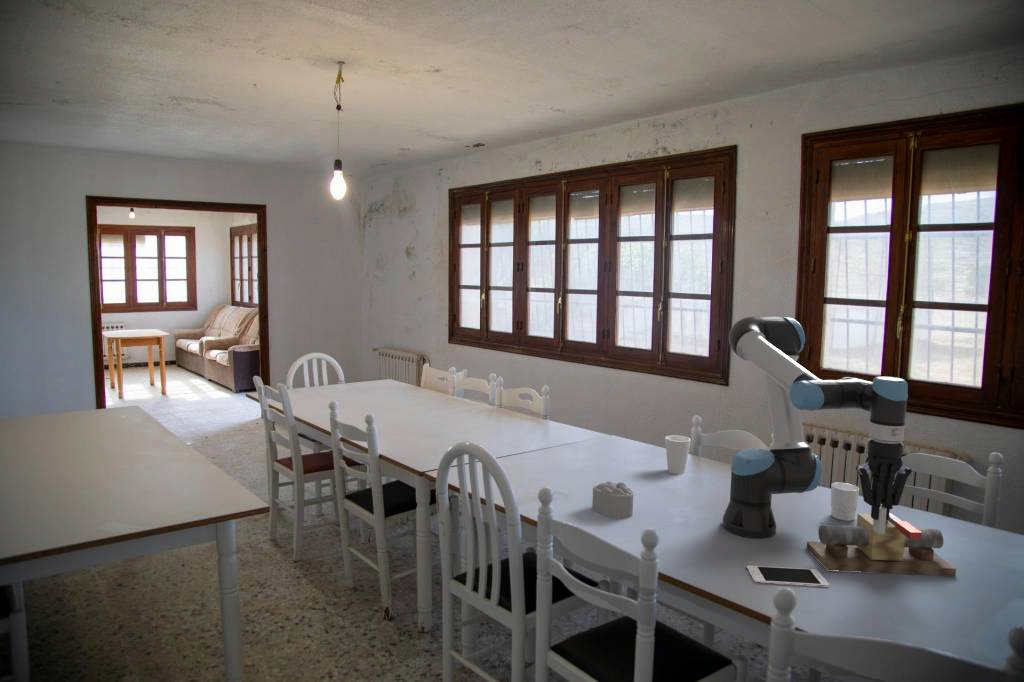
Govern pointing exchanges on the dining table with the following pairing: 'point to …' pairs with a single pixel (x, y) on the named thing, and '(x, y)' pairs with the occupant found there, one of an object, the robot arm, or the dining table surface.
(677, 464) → the foam cup
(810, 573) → the cell phone
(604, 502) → the lumpy-topped squat cylinder
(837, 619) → the dining table surface
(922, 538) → the pipe rig
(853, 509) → the white cup
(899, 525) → the valve lever
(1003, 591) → the dining table surface
